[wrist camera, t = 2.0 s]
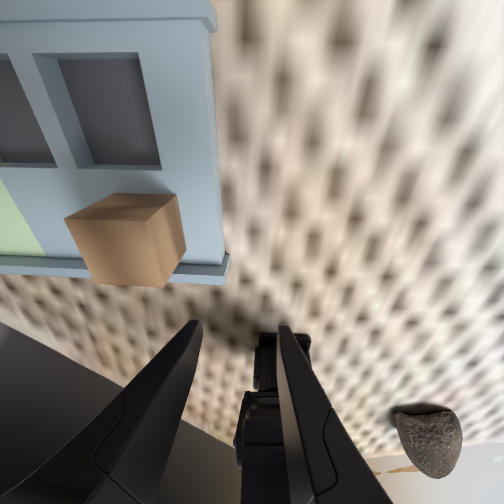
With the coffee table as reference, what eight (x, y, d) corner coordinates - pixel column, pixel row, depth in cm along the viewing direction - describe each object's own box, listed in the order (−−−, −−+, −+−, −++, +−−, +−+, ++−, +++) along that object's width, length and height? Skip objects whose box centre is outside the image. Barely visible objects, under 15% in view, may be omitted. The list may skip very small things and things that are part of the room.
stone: (415, 376, 37) (387, 427, 33) (482, 420, 32) (459, 489, 27) (401, 395, 43) (376, 440, 39) (455, 435, 38) (433, 492, 34)
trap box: (215, 5, 13) (196, -34, 9) (230, 262, 22) (223, 288, 19) (-201, 14, 14) (-347, -16, 11) (-18, 251, 24) (-65, 273, 21)
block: (176, 194, 17) (145, 221, 13) (186, 249, 20) (163, 287, 15) (114, 193, 17) (63, 218, 13) (132, 247, 20) (95, 283, 16)
